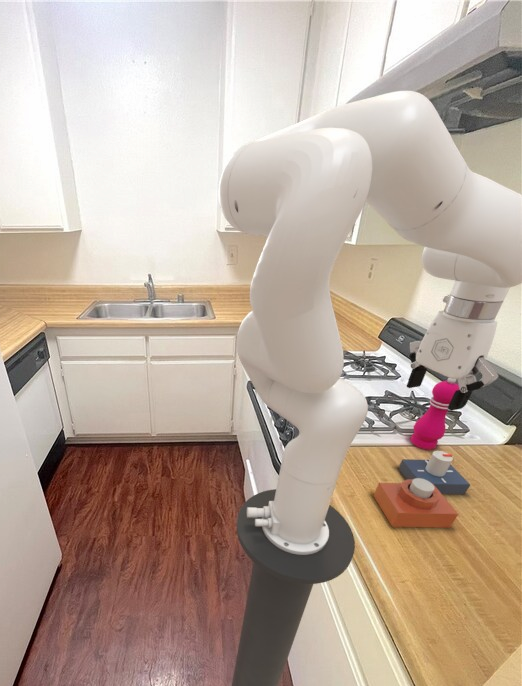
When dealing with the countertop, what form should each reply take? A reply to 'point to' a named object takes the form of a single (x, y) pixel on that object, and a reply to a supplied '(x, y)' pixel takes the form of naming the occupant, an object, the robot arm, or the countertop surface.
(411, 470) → the tap panel
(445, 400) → the pepper mill
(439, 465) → the grey dial knob
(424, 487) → the push button
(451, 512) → the orange button housing
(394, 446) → the countertop surface
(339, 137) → the robot arm
